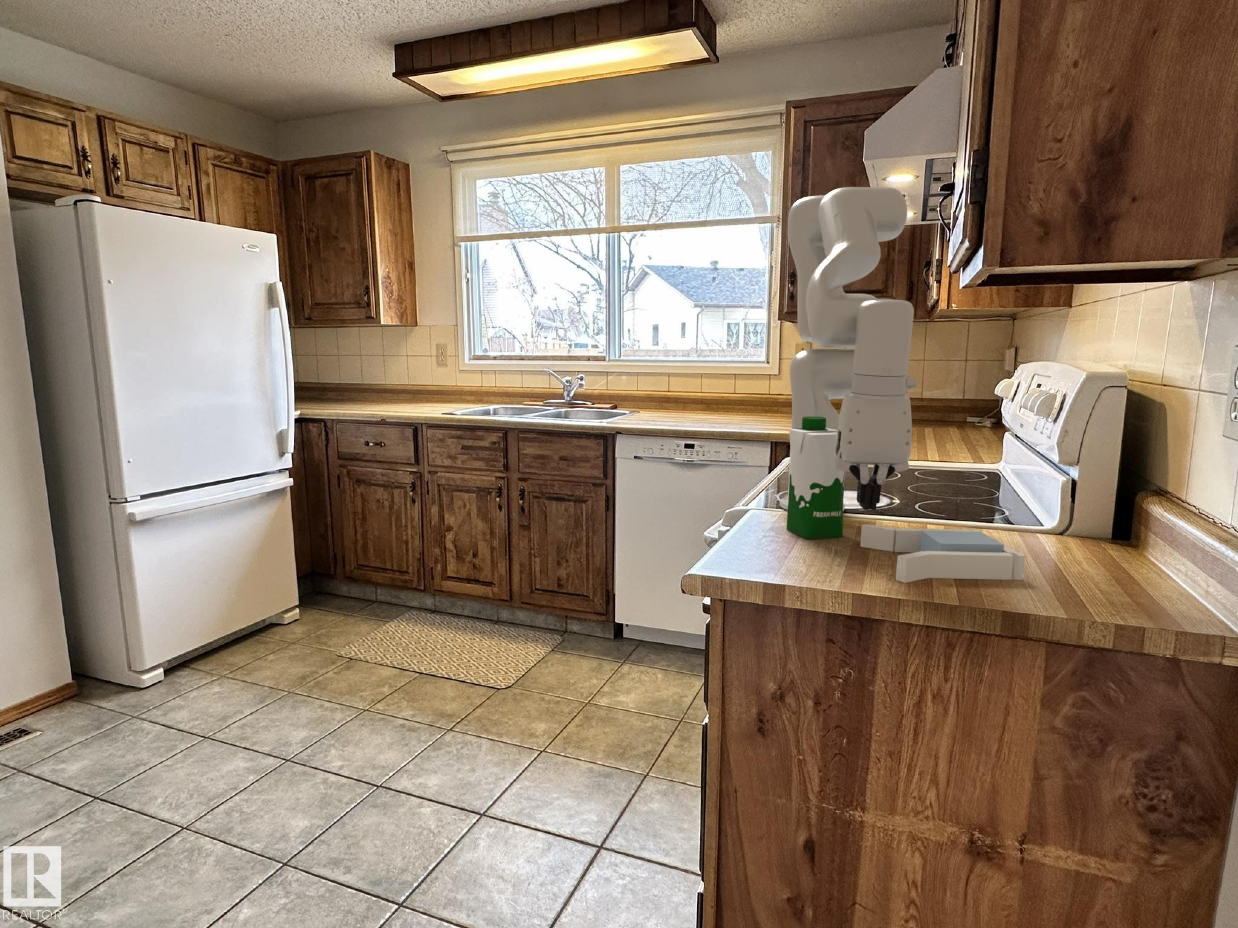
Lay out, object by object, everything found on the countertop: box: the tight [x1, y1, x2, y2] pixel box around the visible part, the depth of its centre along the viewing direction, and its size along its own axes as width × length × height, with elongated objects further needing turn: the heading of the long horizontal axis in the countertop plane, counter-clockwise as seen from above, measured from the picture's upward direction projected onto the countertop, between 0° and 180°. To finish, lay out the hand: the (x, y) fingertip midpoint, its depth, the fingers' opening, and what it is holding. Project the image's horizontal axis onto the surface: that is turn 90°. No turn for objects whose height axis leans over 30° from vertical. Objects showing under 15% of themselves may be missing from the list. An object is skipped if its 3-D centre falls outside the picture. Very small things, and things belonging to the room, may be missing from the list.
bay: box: [860, 523, 1025, 584], centre depth 105 cm, size 19×18×4 cm
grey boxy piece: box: [920, 531, 1005, 553], centre depth 104 cm, size 8×9×4 cm
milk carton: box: [785, 417, 846, 540], centre depth 119 cm, size 9×9×20 cm
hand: (867, 507), depth 105 cm, fingers closed
